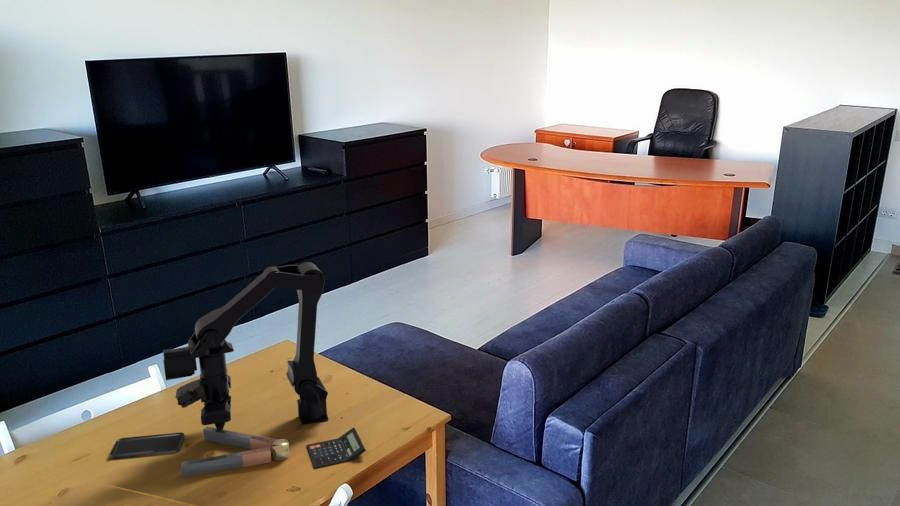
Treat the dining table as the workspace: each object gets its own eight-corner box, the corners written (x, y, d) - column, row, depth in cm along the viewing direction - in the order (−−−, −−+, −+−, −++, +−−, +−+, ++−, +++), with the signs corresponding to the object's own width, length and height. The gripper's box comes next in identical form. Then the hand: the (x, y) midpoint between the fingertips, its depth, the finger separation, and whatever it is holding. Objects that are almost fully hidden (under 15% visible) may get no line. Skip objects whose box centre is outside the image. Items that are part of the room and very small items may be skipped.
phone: (117, 438, 156) (185, 431, 159) (118, 442, 157) (185, 435, 159) (107, 458, 149) (178, 450, 152) (108, 462, 149) (179, 454, 152)
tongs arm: (292, 452, 152) (291, 440, 151) (284, 461, 149) (283, 449, 148) (208, 436, 158) (207, 424, 157) (198, 444, 155) (197, 432, 154)
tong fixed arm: (271, 458, 150) (270, 447, 149) (271, 462, 149) (270, 451, 148) (182, 473, 145) (181, 461, 144) (182, 478, 143) (180, 466, 142)
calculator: (306, 448, 155) (306, 436, 154) (356, 437, 159) (355, 426, 158) (314, 470, 146) (313, 459, 146) (366, 459, 151) (365, 447, 150)
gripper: (178, 357, 159) (186, 415, 164) (172, 395, 142) (180, 458, 147) (228, 351, 162) (233, 408, 167) (227, 388, 145) (233, 450, 150)
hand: (220, 430), depth 158 cm, fingers closed
